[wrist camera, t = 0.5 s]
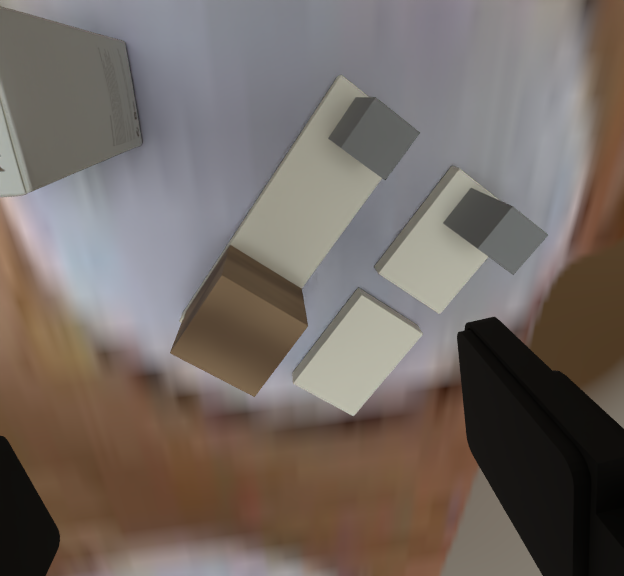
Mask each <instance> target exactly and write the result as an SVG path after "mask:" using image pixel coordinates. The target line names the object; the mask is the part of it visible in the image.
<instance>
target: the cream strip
mask: <svg viewBox="0 0 624 576" xmlns="http://www.w3.org/2000/svg"><path fill="white" fill-rule="evenodd" d="M419 134H420V132H419V131H417V130H416V129H415V128H414V127H412V126H411V125H410V124H408V123H407V122H406V121H405V120H403V119H402V118H401V117H400V116H398V115H397V114H396V113H395V112H393V111H392V110H391V109H390V108H388V107H387V106H386V105H385V104H383V103H382V102H381V101H380V100H378V99H377V98H376V97H369V96H367V95H366V94H365V93H364V92H362V91H361V90H360V89H358V88H357V87H356V86H355V85H353V84H352V83H351V82H350V81H348V80H347V79H346V78H345V77H343V76H342V75H339V76H338V77H337V78H336V80H335V81H334V83H333V84H332V86H331V87H330V89H329V90H328V92H327V93H326V95H325V96H324V98H323V99H322V101H321V103H320V104H319V106H318V107H317V109H316V110H315V112H314V113H313V115H312V116H311V118H310V119H309V121H308V122H307V124H306V125H305V127H304V128H303V130H302V132H301V133H300V135H299V136H298V138H297V139H296V141H295V142H294V144H293V145H292V147H291V148H290V150H289V151H288V153H287V154H286V156H285V157H284V159H283V161H282V162H281V164H280V165H279V167H278V168H277V170H276V171H275V173H274V174H273V176H272V177H271V179H270V180H269V182H268V183H267V185H266V186H265V188H264V190H263V191H262V193H261V194H260V196H259V197H258V199H257V200H256V202H255V203H254V205H253V206H252V208H251V209H250V211H249V212H248V214H247V215H246V217H245V219H244V220H243V222H242V223H241V225H240V226H239V228H238V229H237V231H236V232H235V234H234V235H233V237H232V238H231V240H230V241H229V243H228V244H227V246H226V248H225V249H224V251H223V252H222V254H221V255H220V257H219V258H218V260H217V261H216V263H215V264H214V266H213V267H212V269H211V270H210V272H209V273H208V275H207V277H206V278H205V280H204V281H203V283H202V284H201V286H200V287H199V289H198V290H197V292H196V293H195V295H194V296H193V298H192V299H191V301H190V302H189V304H188V306H187V307H186V309H185V310H184V312H183V313H182V316H181V318H180V321H179V322H181V323H182V320H183V318H184V315H185V313H186V311H187V309H188V307H189V306H190V304H191V303H192V301H193V300H194V298H195V297H196V295H197V294H198V292H199V291H200V289H201V288H202V286H203V285H204V283H205V282H206V280H207V279H208V277H209V276H210V274H211V272H212V271H213V269H214V268H215V266H216V265H217V263H218V262H219V260H220V259H221V257H222V256H223V254H224V253H225V251H226V250H227V248H228V247H229V245H232V246H233V247H235V248H236V249H238V250H240V251H241V252H243V253H245V254H246V255H248V256H249V257H251V258H253V259H254V260H256V261H258V262H259V263H261V264H262V265H264V266H266V267H267V268H269V269H271V270H272V271H274V272H275V273H277V274H279V275H280V276H282V277H284V278H285V279H287V280H289V281H290V282H292V283H293V284H295V285H297V286H298V287H300V288H303V286H304V285H305V283H306V282H307V281H308V279H309V278H310V277H311V275H312V274H313V272H314V271H315V270H316V268H317V267H318V266H319V264H320V263H321V261H322V260H323V259H324V257H325V256H326V255H327V253H328V252H329V251H330V249H331V248H332V246H333V245H334V244H335V242H336V241H337V240H338V238H339V237H340V235H341V234H342V233H343V231H344V230H345V229H346V227H347V226H348V224H349V223H350V222H351V220H352V219H353V218H354V216H355V215H356V213H357V212H358V211H359V209H360V208H361V207H362V205H363V204H364V203H365V201H366V200H367V198H368V197H369V196H370V194H371V193H372V192H373V190H374V189H375V187H376V186H377V185H378V183H379V182H380V181H381V179H384V180H386V179H387V177H388V176H389V175H390V173H391V172H392V170H393V169H394V168H395V166H396V165H397V164H398V162H399V161H400V160H401V158H402V157H403V155H404V154H405V153H406V151H407V150H408V149H409V147H410V146H411V145H412V143H413V142H414V140H415V139H416V138H417V136H418V135H419Z"/></svg>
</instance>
